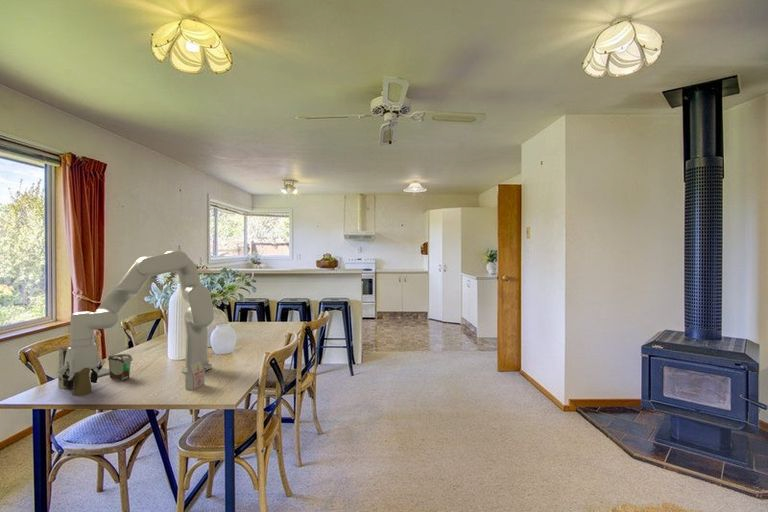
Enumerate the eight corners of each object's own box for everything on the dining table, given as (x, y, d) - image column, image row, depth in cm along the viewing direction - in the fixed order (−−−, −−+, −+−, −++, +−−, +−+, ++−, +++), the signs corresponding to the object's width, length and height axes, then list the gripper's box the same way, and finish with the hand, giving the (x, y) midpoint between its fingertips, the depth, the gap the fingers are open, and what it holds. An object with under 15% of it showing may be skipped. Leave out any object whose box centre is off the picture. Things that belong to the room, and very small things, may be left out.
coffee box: (63, 389, 151) (63, 350, 151) (57, 386, 154) (58, 348, 154) (90, 382, 159) (90, 345, 159) (84, 380, 162) (84, 343, 162)
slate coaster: (115, 372, 172) (115, 370, 172) (91, 379, 163) (91, 377, 163) (102, 369, 177) (102, 367, 177) (78, 375, 167) (78, 374, 167)
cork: (80, 396, 144) (80, 368, 144) (68, 395, 145) (68, 367, 145) (95, 390, 150) (95, 364, 150) (83, 389, 151) (83, 363, 151)
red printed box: (185, 389, 152) (185, 365, 152) (197, 383, 159) (197, 361, 159) (192, 390, 151) (193, 366, 151) (204, 384, 158) (204, 361, 158)
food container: (138, 377, 166) (138, 355, 165) (124, 382, 160) (124, 359, 160) (122, 373, 171) (122, 352, 171) (107, 377, 165) (107, 355, 165)
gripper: (100, 337, 157) (100, 378, 157) (50, 346, 141) (50, 391, 141) (111, 339, 154) (111, 380, 154) (61, 348, 138) (61, 395, 138)
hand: (82, 385), depth 147 cm, fingers open, 7 cm apart
